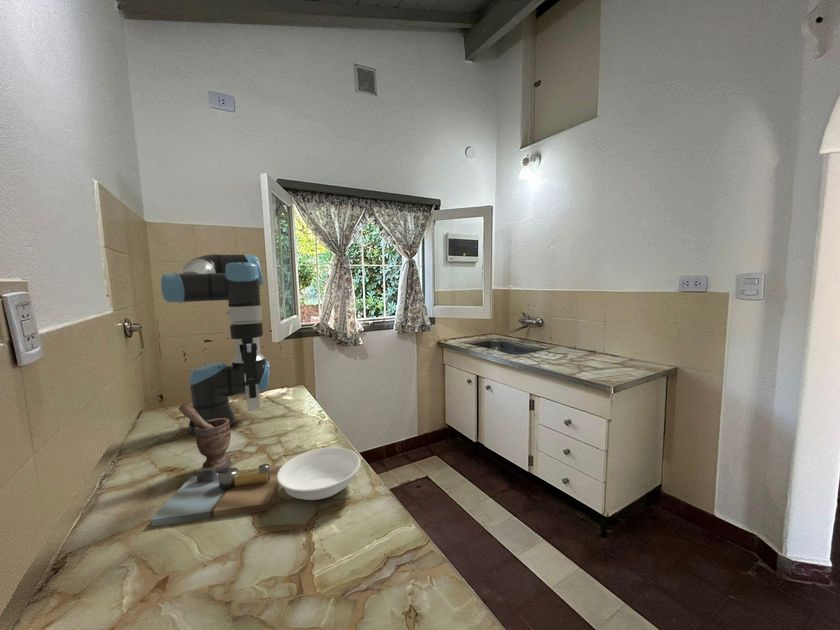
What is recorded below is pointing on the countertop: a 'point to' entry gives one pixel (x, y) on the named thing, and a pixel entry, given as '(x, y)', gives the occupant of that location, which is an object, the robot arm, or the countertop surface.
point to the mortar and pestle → (210, 438)
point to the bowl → (319, 473)
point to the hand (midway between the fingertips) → (252, 402)
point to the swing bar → (243, 476)
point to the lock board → (216, 498)
